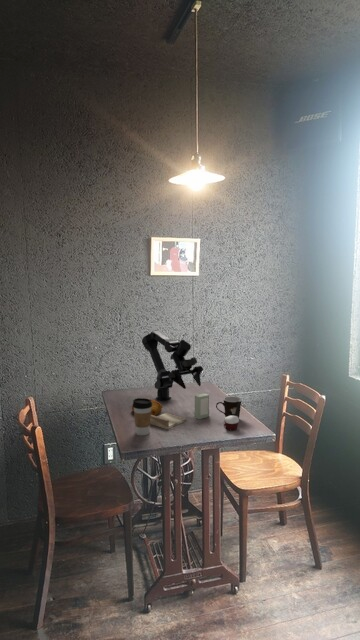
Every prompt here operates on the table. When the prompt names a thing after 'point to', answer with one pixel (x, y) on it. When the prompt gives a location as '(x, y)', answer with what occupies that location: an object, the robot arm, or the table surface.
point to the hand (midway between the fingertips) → (192, 387)
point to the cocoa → (232, 420)
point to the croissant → (154, 407)
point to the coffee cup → (142, 415)
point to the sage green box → (201, 406)
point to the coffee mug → (230, 406)
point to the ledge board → (166, 420)
